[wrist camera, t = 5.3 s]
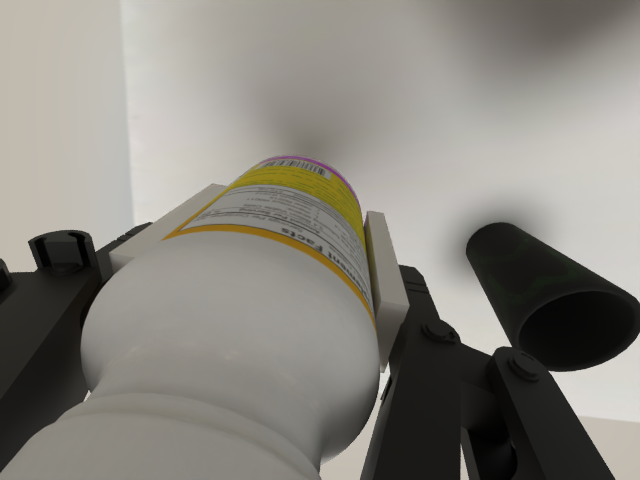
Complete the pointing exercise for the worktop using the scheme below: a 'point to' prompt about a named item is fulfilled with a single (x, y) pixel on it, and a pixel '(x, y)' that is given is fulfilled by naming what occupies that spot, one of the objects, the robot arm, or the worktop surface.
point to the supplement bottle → (228, 343)
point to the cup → (551, 300)
